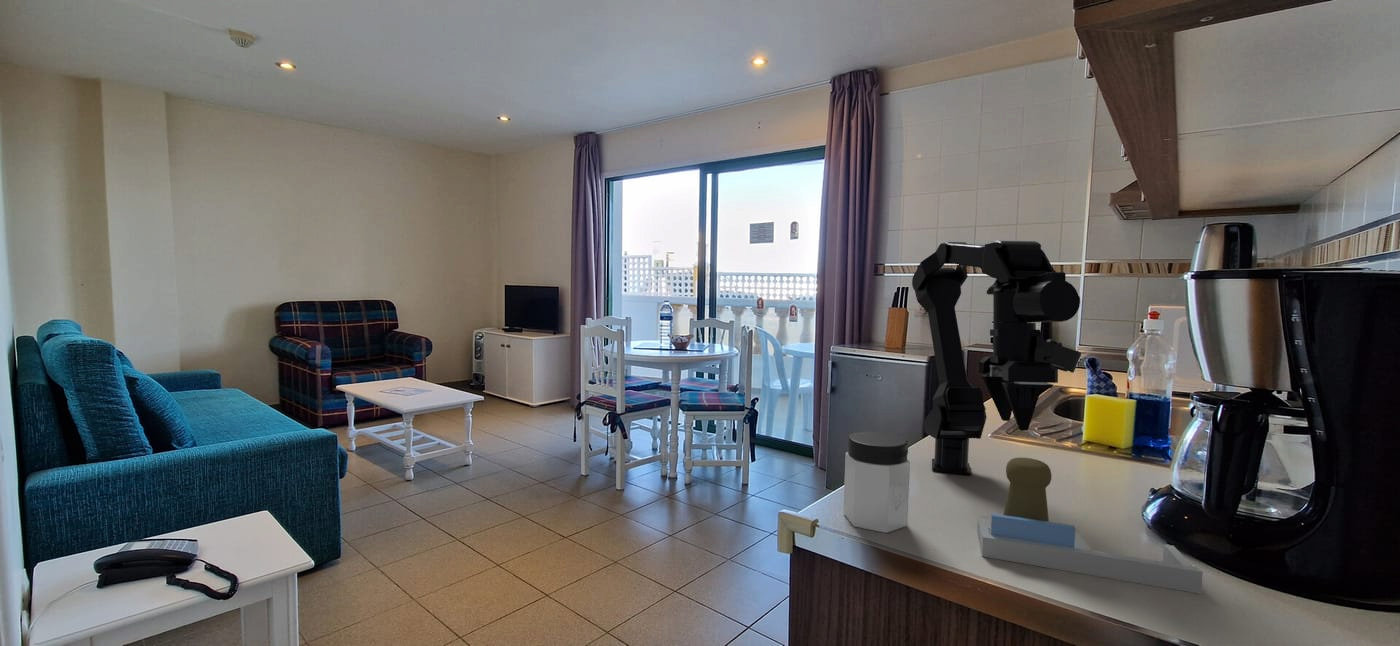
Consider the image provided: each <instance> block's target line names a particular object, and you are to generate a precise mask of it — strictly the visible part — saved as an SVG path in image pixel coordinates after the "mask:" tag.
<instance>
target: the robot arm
mask: <svg viewBox="0 0 1400 646" xmlns="http://www.w3.org/2000/svg"><path fill="white" fill-rule="evenodd" d="M947 264H948V265H949V264H950V265H957V267H956V268H954V267H944V266H945V265H947ZM967 267H974V268H979V269H981V272H982V273H983V274H984V275H986V276H988V277H990V278H992V279H995V280H994V283H993V284H992V285H990V286H989V287H988V288H987V290H986V295H991V296H992V295H993V296H992V297H993V301H992V303H993V305H992V306H993V309H992V313H993V314H992V315H993V316H992V318H993V320H992V322H993V323H992V326H993V328H992V329H991V328H990V329H989V337H992V338H993V345H992V346H993V350H992V351H993V355H989V356H984V357H982V359H980V360H979V361H978V373H980V374H983V375H981V379H982V380H983V382H984V384H985V386H986V388H987V390H988V393H989V395H990V397H991V398H992V401H993V403H994V406H995V408H996V410H997V412H998V414H999V417H1000V419H1001V421H1003V422H1010V420H1011V417H1012V414H1013V418H1014V421H1015V422H1016V425H1017V428H1018V430H1019V431H1023V432H1024V431H1025V432H1027V431H1028V430H1029V429H1030V425H1031V422H1032V419H1033V415H1034V412H1035V410H1036V407H1037V406H1036V405H1037V404H1038V400H1039V398H1040V396H1041V395H1042V394H1043V393H1045V392H1046V391H1048V390H1049V389H1052V388H1053V387H1054V383H1055V384H1058V383H1059V371H1063V372H1070V373H1075V371H1076V368H1077V365H1078V363H1079V361H1080V358H1081V356H1082V352H1080V351H1078V350H1075V349H1073V348H1070V347H1069V348H1068V347H1066V346H1063V344H1062V342H1060V341H1055V340H1054V339H1047V340H1044V337H1043V331H1041V329H1037V323H1052V322H1053V323H1057V322H1060V323H1061V322H1062V323H1063V322H1066V321H1069V320H1071V319H1072V318H1073V317H1075V315H1076V314H1077V313H1078V311H1079V309H1080V306H1081V297H1080V296H1079V293H1078V291H1077V289H1076V287H1074V286H1073V284H1071V283H1070V282H1069V281H1067V280H1066V277H1067V276H1066V273H1065V271H1061V272H1059V271H1058V272H1057V271H1056V270H1055V269H1054V267H1053V265H1052V264H1051V261H1050V260H1049V259H1048V257H1047V255H1046V253H1045V251H1044V250H1043V249H1042V244H1040V243H1039V242H1038V241H1033V240H1032V241H1031V240H1029V241H1027V240H1025V241H1024V240H994V241H991V242H986V243H985V244H974V243H967V242H965V241H964V242H963V241H945V242H943V243H940V244H939V245H938V247H937V248H936V250H935V252H933V253H932V254H930V255H929V256H927V257H926V258H924V259H923V260H922V261H921V262H920V263H919V264H918V266H917V268H916V269H915V272H914V273H913V275H912V280H911V285H912V288H913V291H914V293H915V298H916V301H917V303H918V304H919V305H920V306H921V308H923V310H925V312H926V313H927V315H928V316H927V317H928V322H929V329H930V334H931V340H932V341H931V342H932V345H933V346H932V347H933V353H934V359H935V366H936V372H937V379H938V387H937V390H936V391H935V393H934V395H933V397H932V409H931V410H930V412H929V413H928V415H927V416H926V418H925V419H924V420H923V427H924V433H925V434H926V435H929V436H930V437H931V438H933V439H934V457H933V458H931V471H934V472H942V473H949V474H957V475H967V476H971V475H972V470H971V466H970V463H969V449H970V448H969V446H970V439H978V440H979V439H980V440H981V438H982V435H983V431H984V428H985V425H986V421H987V413H986V410H987V408H986V406H985V403H984V398H983V392H982V389H981V388H980V387H974V386H973V385H972V384H971V383H970V381H969V380H968V375H967V370H966V364H965V358H964V353H963V352H964V351H963V346H962V340H961V336H960V331H959V325H958V319H957V313H956V305H957V303H958V302H959V299H960V297H961V295H962V286H963V285H964V283H965V281H966V280H967V279H968V271H967Z"/></svg>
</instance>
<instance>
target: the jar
mask: <svg viewBox="0 0 1400 646" xmlns="http://www.w3.org/2000/svg"><path fill="white" fill-rule="evenodd" d="M908 443H909V442H908V441H907V439H906V438H904V437H902V436H899V435H897V434H893V433H890V432H889V433H888V432H880V431H858V432H853V433H852V434H849V435H848V443H847V451H846V452H845V459H844V462H845V463H844V485H843V486H844V487H843V488H844V489H843V490H844V491H843V514H844V516H845V517H846V519H847V520H848V521H849V523H851V525H852V526H853V527H854V528H858V529H863V530H864V529H865V530H869V531H874V532H878V533H883V534H888V533H890V532H894V531H896V530H899V529H902V528H905V527H907V526H908V522H909V521H908V520H909V498H910V497H909V496H910V474H911V473H910V472H911V471H910V470H911V462H910V460H909V459H908V454H909V447H908V446H909V444H908Z"/></svg>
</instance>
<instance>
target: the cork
mask: <svg viewBox="0 0 1400 646" xmlns="http://www.w3.org/2000/svg"><path fill="white" fill-rule="evenodd" d="M1005 474H1006V475H1005V476H1006V478H1007V480H1008V482H1009V486H1008V490H1007V495H1006V501H1005V505H1004V509H1003V514H1002V515H1006V516H1013V517H1020V518H1027V519H1033V520H1040V521H1047V522H1050V519H1049V512H1048V499H1047V498H1048V497H1047V490H1046V489H1047V487H1048V486H1050V484H1051V482H1052V476H1053V475H1052V471H1051V468H1050V467H1049V465H1048V464H1046V463H1045V461H1041V460H1038V459H1036V458H1031V457H1014V458H1011V459H1010V460H1009V461H1008V462H1007V464H1006V467H1005Z"/></svg>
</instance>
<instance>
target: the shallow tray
mask: <svg viewBox="0 0 1400 646" xmlns="http://www.w3.org/2000/svg"><path fill="white" fill-rule="evenodd" d="M990 516H991V518H990V527H989V526H988V521H987V518H986V517H982V516H977V525H976V526H977V529H976V533H977V538H978V541H979V546H980V547H979V549H980V553H981V557H985V558H990V559H996V560H1001V561H1008V562H1012V563H1019V564H1025V565H1031V566H1036V567H1041V568H1047V569H1054V570H1059V571H1066V572H1071V573H1072V572H1073V573H1077V574H1082V575H1089V576H1094V577H1095V576H1096V577H1102V578H1106V579H1112V580H1118V581H1119V580H1120V581H1124V582H1128V583H1129V582H1130V583H1135V584H1143V585H1148V586H1153V587H1159V588H1163V589H1164V588H1165V589H1171V590H1178V591H1183V592H1187V593H1193V594H1200V595H1201V594H1202V586H1203V575H1204V574H1203V570H1201V569H1200V567H1198V566H1193V564H1191V562H1189V561H1188V560H1187V558H1186V557H1185V556H1184V555H1183V554H1182V553H1181V552H1180V551H1179V550H1178V549H1177V548H1176V547H1175V545H1171V544H1163V550H1162V560H1161V561H1160V560H1154V559H1148V558H1147V559H1146V558H1142V557H1136V556H1135V557H1134V556H1129V555H1123V554H1116V553H1111V552H1110V553H1109V552H1105V551H1104V552H1103V551H1097V550H1091V549H1090V547H1089V545H1088V544H1087V542H1086V540H1085V538H1084V536H1082V534H1081V532H1080V531H1076V527H1075V525H1073V524H1068V523H1067V524H1066V523H1060V522H1053V521H1049V522H1047V521H1040V520H1033V519H1027V518H1020V517H1013V516H1006V515H1003V514H998V513H991V515H990Z"/></svg>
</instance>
